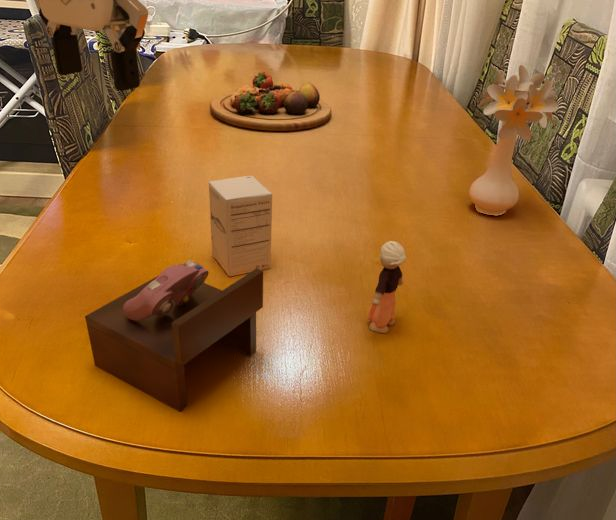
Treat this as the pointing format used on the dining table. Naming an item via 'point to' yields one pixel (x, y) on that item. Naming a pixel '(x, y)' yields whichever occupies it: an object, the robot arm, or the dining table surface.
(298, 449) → the dining table surface
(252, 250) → the white packaging box
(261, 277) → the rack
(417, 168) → the dining table surface
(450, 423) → the dining table surface
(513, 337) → the dining table surface
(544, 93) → the flower vase
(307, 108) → the wooden plate
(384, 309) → the grandmother figurine
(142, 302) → the pink toy car
